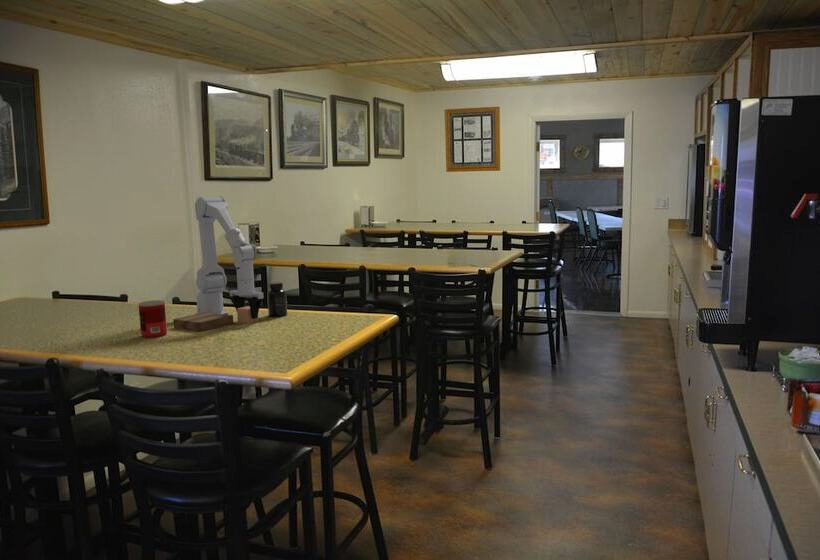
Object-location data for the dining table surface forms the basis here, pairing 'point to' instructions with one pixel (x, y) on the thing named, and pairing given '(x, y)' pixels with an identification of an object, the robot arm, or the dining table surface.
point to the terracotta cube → (245, 315)
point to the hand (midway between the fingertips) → (247, 317)
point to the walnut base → (203, 321)
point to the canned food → (152, 319)
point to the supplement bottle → (276, 300)
